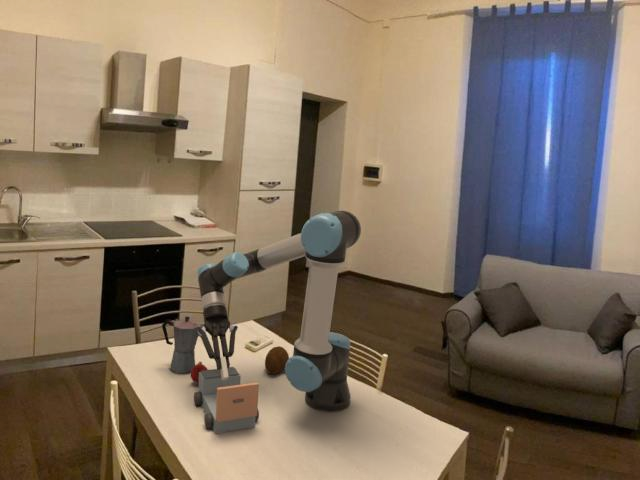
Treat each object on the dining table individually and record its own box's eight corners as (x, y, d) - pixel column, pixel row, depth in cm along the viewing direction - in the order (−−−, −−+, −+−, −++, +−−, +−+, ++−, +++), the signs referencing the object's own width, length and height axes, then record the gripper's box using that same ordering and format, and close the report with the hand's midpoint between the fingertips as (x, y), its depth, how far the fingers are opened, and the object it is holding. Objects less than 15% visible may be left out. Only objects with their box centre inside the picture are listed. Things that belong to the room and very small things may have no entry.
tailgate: (215, 420, 153) (217, 387, 151) (255, 414, 158) (257, 382, 157) (217, 423, 152) (218, 390, 150) (257, 416, 157) (259, 384, 155)
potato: (255, 372, 196) (256, 349, 194) (275, 362, 206) (276, 340, 204) (273, 379, 191) (275, 356, 190) (293, 368, 201) (294, 346, 200)
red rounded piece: (203, 388, 180) (204, 366, 178) (187, 386, 181) (188, 364, 180) (210, 381, 186) (211, 360, 184) (194, 378, 187) (195, 357, 185)
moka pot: (199, 376, 189) (201, 322, 185) (156, 372, 189) (157, 318, 185) (205, 365, 198) (208, 313, 194) (164, 361, 198) (165, 310, 195)
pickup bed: (192, 398, 173) (193, 371, 171) (239, 392, 179) (240, 365, 178) (208, 434, 153) (210, 403, 152) (260, 425, 160) (262, 395, 158)
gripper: (231, 312, 180) (243, 380, 168) (192, 315, 175) (201, 385, 163) (236, 302, 174) (248, 372, 163) (196, 304, 169) (206, 376, 157)
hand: (225, 378), depth 163 cm, fingers closed
